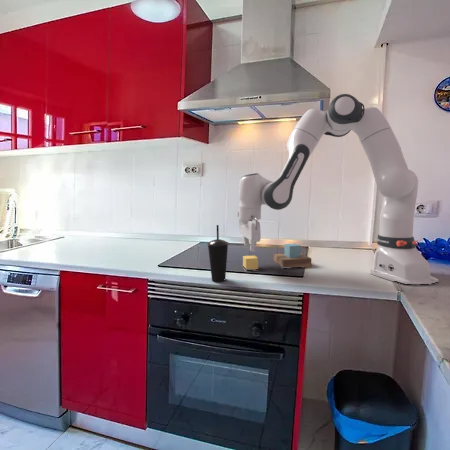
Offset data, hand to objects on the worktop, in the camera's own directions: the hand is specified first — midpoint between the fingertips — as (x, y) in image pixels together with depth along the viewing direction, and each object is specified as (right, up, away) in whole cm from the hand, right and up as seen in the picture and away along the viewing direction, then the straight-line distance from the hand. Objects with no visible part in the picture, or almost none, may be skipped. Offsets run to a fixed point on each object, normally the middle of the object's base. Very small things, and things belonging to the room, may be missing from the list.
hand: (249, 248), depth 129 cm
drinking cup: (-12, -11, -14) cm, 21 cm away
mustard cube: (0, -8, 0) cm, 8 cm away
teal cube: (+19, -4, +6) cm, 20 cm away
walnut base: (+18, -8, +7) cm, 21 cm away
